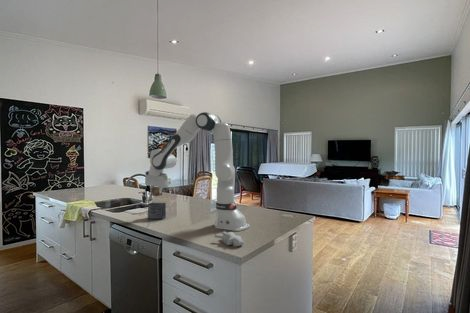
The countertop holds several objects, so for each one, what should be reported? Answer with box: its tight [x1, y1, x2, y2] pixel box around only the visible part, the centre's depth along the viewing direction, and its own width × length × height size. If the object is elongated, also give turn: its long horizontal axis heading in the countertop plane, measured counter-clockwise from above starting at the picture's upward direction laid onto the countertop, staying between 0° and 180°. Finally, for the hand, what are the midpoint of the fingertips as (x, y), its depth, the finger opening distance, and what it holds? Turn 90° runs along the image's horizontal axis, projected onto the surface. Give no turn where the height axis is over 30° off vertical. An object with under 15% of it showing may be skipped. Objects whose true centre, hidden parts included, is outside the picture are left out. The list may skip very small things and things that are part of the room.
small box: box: [147, 202, 167, 221], centre depth 183 cm, size 11×6×10 cm, turn 84°
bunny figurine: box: [214, 231, 244, 248], centre depth 134 cm, size 10×5×15 cm
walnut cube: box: [150, 186, 163, 197], centre depth 183 cm, size 5×5×5 cm
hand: (156, 192), depth 183 cm, fingers closed on walnut cube, 5 cm apart
